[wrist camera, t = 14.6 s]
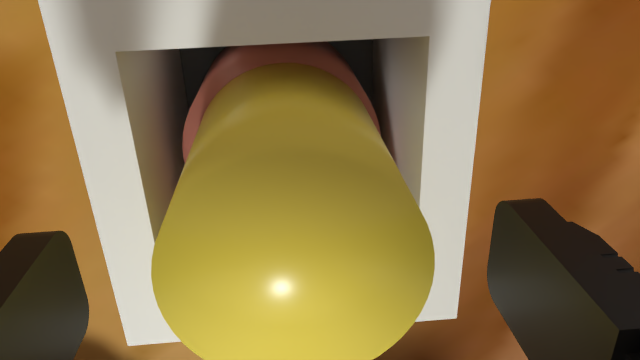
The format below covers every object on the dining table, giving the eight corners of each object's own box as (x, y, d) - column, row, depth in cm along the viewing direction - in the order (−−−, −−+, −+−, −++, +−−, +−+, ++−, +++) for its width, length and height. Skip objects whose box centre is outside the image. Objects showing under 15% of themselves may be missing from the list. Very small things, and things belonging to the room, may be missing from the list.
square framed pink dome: (438, -135, 18) (578, -193, 10) (417, 234, 24) (489, 383, 16) (84, -125, 17) (-87, -178, 9) (161, 252, 24) (102, 419, 15)
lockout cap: (376, 57, 13) (445, 139, 8) (373, 220, 16) (426, 370, 10) (185, 67, 13) (124, 159, 8) (209, 232, 15) (175, 393, 10)
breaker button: (359, 22, 17) (383, 46, 13) (359, 174, 19) (379, 229, 16) (189, 30, 17) (166, 57, 13) (211, 184, 19) (197, 242, 15)
